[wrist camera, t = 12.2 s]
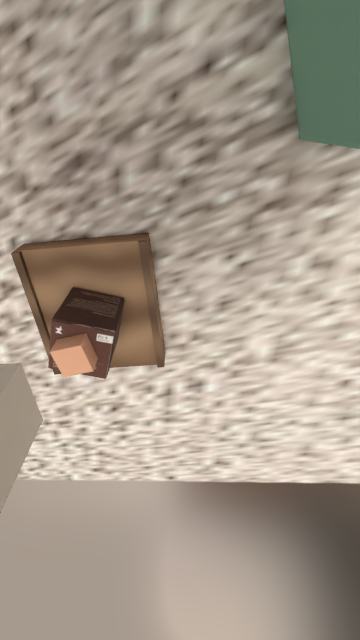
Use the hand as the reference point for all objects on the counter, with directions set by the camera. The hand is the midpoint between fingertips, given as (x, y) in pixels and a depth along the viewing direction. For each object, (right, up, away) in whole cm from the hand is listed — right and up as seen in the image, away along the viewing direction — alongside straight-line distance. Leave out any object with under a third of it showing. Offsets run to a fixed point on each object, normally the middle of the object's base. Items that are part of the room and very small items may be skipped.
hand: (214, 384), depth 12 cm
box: (-11, +3, +27) cm, 29 cm away
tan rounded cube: (-11, -1, +21) cm, 23 cm away
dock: (-11, +4, +29) cm, 31 cm away
